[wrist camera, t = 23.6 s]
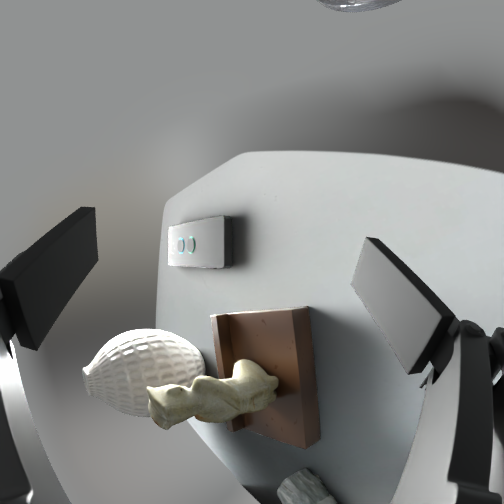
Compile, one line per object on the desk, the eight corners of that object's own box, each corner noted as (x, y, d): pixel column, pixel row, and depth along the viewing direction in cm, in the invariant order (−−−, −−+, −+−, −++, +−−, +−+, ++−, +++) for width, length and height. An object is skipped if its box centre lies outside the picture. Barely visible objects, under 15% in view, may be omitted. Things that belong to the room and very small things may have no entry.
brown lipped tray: (238, 311, 44) (210, 315, 40) (308, 306, 34) (279, 312, 30) (252, 419, 41) (227, 430, 38) (320, 439, 31) (294, 456, 28)
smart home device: (167, 225, 59) (223, 213, 44) (175, 226, 60) (232, 214, 45) (167, 266, 59) (223, 269, 44) (174, 266, 60) (232, 269, 45)
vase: (180, 310, 58) (73, 318, 43) (225, 349, 46) (90, 372, 32) (175, 373, 61) (81, 388, 46) (214, 417, 49) (104, 446, 35)
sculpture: (249, 349, 37) (140, 372, 27) (288, 374, 32) (170, 413, 22) (243, 384, 38) (143, 412, 28) (280, 411, 33) (172, 453, 23)
